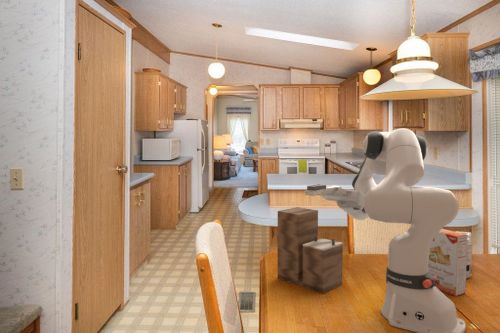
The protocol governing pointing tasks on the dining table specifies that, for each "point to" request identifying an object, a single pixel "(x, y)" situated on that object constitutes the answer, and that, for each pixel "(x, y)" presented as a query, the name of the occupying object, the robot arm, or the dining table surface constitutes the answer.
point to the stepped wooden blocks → (307, 252)
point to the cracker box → (449, 261)
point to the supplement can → (468, 258)
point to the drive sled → (320, 189)
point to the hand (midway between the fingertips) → (332, 187)
